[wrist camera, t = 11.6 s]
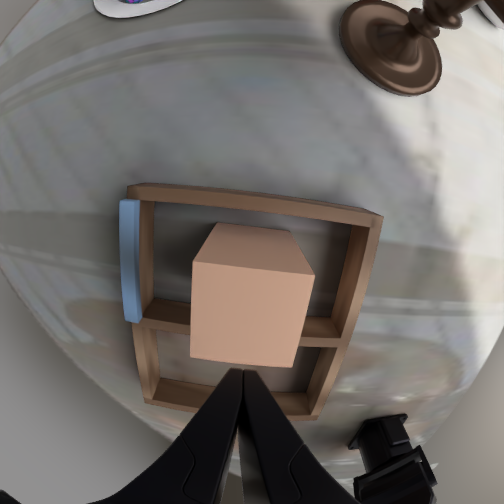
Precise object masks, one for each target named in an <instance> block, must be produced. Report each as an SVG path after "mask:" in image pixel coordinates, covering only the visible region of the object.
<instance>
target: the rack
mask: <svg viewBox="0 0 504 504" xmlns="http://www.w3.org/2000/svg"><path fill="white" fill-rule="evenodd" d="M155 201H160V202H173V203H184V204H195V205H206V206H216V207H225V208H235V209H244V210H252V211H261V212H269V213H277V214H284V215H292V216H299V217H307V218H314V219H320V220H327V221H334V222H340V223H347V224H352V229H351V234H350V239H349V244H348V248H347V253H346V258H345V262H344V266H343V271H342V275H341V279H340V283H339V287H338V291H337V295H336V299H335V302H334V306H333V310H332V313H331V317H317V316H306V317H305V321H304V325H303V329H302V333H301V336H300V340H299V344H298V346H308V347H321V350H320V354H319V357H318V360H317V363H316V366H315V369H314V372H313V375H312V377H311V380H310V383H309V386H308V389H307V391H306V393H290V392H271V394H272V395H273V397H274V399H275V400H276V402H277V403H278V405H279V406H280V408H281V409H282V411H283V412H284V414H285V415H286V417H287V418H288V420H289V421H304V420H317V419H318V417H319V415H320V413H321V410H322V408H323V406H324V404H325V402H326V399H327V397H328V395H329V393H330V390H331V388H332V386H333V383H334V381H335V378H336V376H337V373H338V371H339V368H340V366H341V363H342V361H343V358H344V356H345V353H346V350H347V347H348V345H349V342H350V339H351V336H352V333H353V330H354V327H355V324H356V321H357V318H358V315H359V312H360V309H361V306H362V302H363V299H364V296H365V292H366V289H367V285H368V282H369V278H370V274H371V270H372V267H373V263H374V259H375V254H376V250H377V246H378V242H379V237H380V232H381V228H382V223H383V218H384V217H383V216H381V215H378V214H376V213H374V212H371V211H369V210H366V209H362V208H357V207H351V206H346V205H340V204H334V203H328V202H322V201H316V200H309V199H303V198H296V197H289V196H281V195H274V194H266V193H258V192H250V191H241V190H231V189H222V188H211V187H200V186H188V185H174V184H159V183H141V184H136V185H130V186H127V199H124V200H121V201H120V205H119V245H120V270H121V285H122V297H123V307H124V316H125V321H129V322H131V323H132V331H133V339H134V346H135V353H136V359H137V366H138V371H139V377H140V382H141V387H142V392H143V397H144V401H145V403H148V404H152V405H156V406H161V407H166V408H170V409H176V410H181V411H187V412H193V413H197V411H198V410H199V409H200V408H201V406H202V405H203V404H204V402H205V401H206V400H207V398H208V397H209V396H210V394H211V393H212V392H213V390H214V389H215V388H216V387H213V386H206V385H199V384H192V383H186V382H180V381H175V380H169V379H164V378H160V370H159V361H158V351H157V339H156V330H162V331H168V332H174V333H180V334H186V335H191V304H190V303H183V302H176V301H169V300H163V299H157V298H154V280H153V236H154V208H155Z"/></svg>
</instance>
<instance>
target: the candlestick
mask: <svg viewBox="0 0 504 504" xmlns="http://www.w3.org/2000/svg"><path fill="white" fill-rule="evenodd" d="M482 1H485V3H486V4H487V5H488V6H489V7H490V8H491V9H492V11H493V12H494V13H495V14H496V16H497V17H498V18H499V19H500V20H501V21H502V23H503V24H504V0H423V3H422V5H423V9H420V8H412V9H411V10H410V11H409V12H407V11H406V10H404V9H402V8H400V7H398V6H397V5H394V4H392V3H389V2H386V1H382V0H360V1H357V2H355V3H353V4H352V5H350V6H349V7H348V8H347V10H346V11H345V13H344V14H343V16H342V18H341V20H340V24H339V36H340V40H341V43H342V46H343V48H344V50H345V52H346V54H347V56H348V57H349V59H350V60H351V62H352V63H353V64H354V65H355V66H356V68H357V69H358V70H359V71H360V72H361V73H362V74H363V75H364V76H365V77H367V78H368V79H369V80H370V81H371V82H373V83H374V84H376V85H377V86H379V87H380V88H382V89H384V90H386V91H388V92H391V93H394V94H397V95H400V96H408V97H410V96H418V95H421V94H424V93H426V92H429V91H431V90H432V89H433V88H435V87H436V85H437V84H438V82H439V80H440V77H441V73H442V62H441V57H440V53H439V50H438V48H437V45H436V43H435V41H434V40H433V39H434V38H436V37H437V36H439V34H440V30H439V27H442V28H445V29H453V30H455V29H458V28H460V27H461V26H462V22H463V20H462V16H461V14H460V13H461V12H463V11H465V10H467V9H469V8H471V7H472V6H474V5H476V4H478V3H480V2H482Z"/></svg>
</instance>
